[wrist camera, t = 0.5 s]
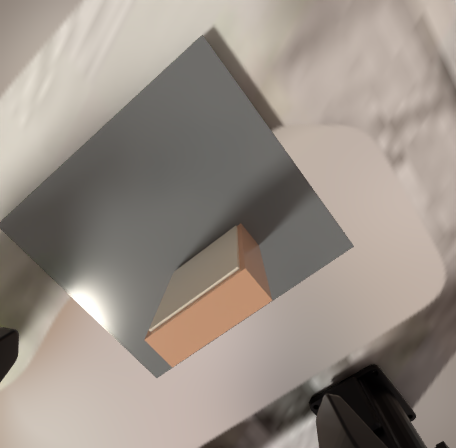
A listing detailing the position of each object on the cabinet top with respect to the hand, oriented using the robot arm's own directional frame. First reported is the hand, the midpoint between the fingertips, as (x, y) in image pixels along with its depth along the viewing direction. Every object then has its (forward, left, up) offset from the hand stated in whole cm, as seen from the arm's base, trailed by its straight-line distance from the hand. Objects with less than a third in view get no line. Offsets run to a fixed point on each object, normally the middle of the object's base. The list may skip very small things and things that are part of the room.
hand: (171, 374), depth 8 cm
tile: (-2, +1, -12) cm, 12 cm away
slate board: (+1, +2, -13) cm, 13 cm away
